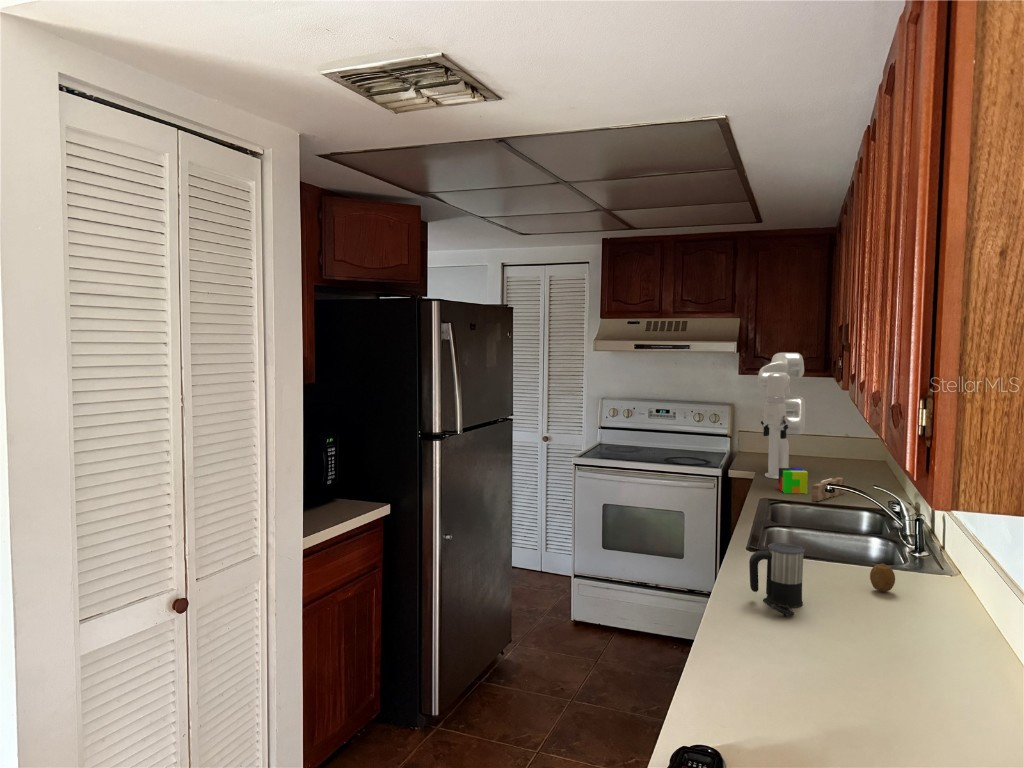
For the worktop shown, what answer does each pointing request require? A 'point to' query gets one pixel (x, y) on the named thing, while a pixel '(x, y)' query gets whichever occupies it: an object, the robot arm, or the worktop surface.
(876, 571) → the fruit
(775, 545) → the milk frother
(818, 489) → the wooden notched board
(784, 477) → the puzzle toy
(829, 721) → the worktop surface
